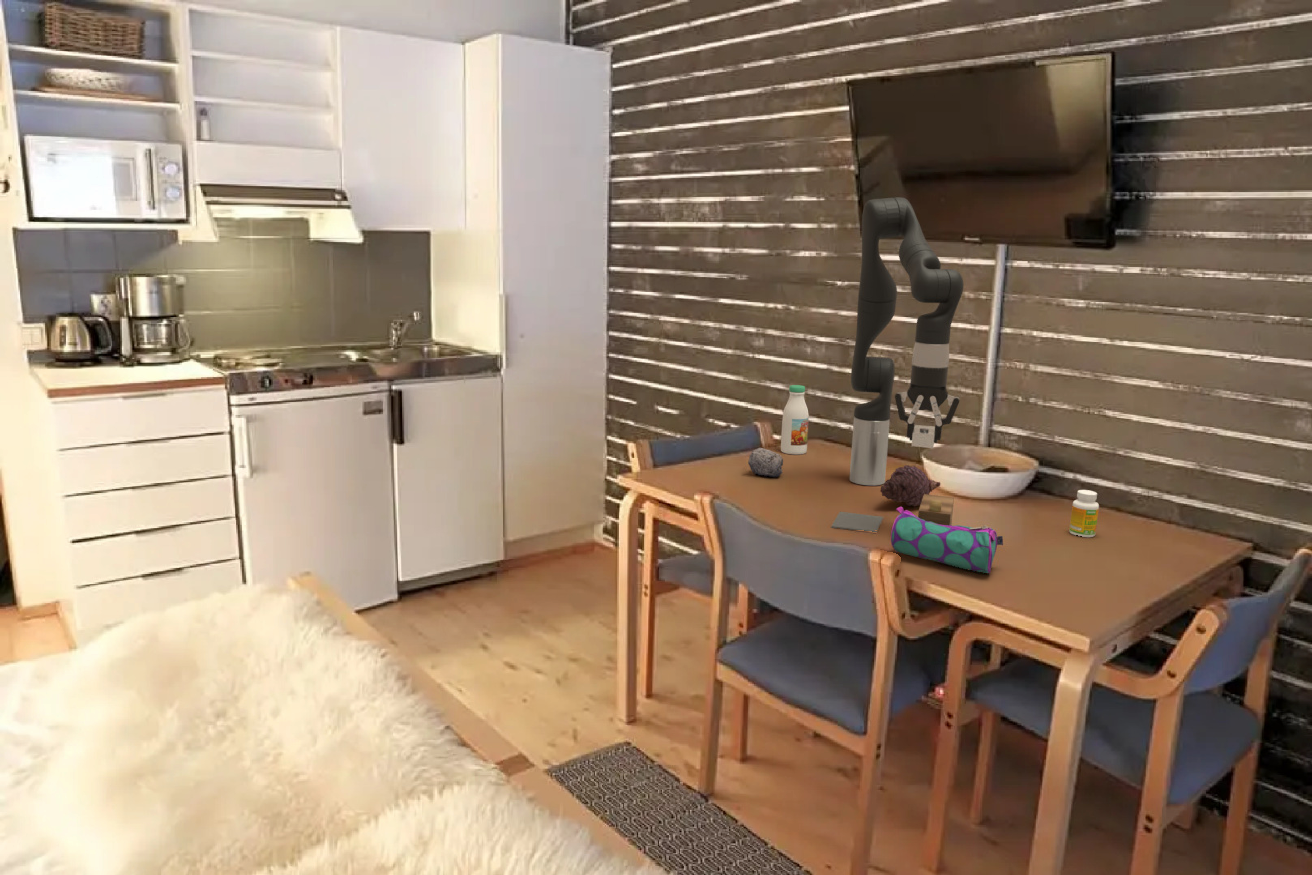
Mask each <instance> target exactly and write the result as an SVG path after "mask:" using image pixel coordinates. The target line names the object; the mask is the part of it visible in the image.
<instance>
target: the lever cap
mask: <svg viewBox="0 0 1312 875" xmlns="http://www.w3.org/2000/svg"><path fill="white" fill-rule="evenodd" d="M934 438H935V426H934V425H933V426H931V425H921V424H920V425H918V424H915V426H914V430H913V435H912V441H911V447H917V448H919V447H920V448H926V449H927V448H929V449H934V447H935V443H934Z"/></svg>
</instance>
